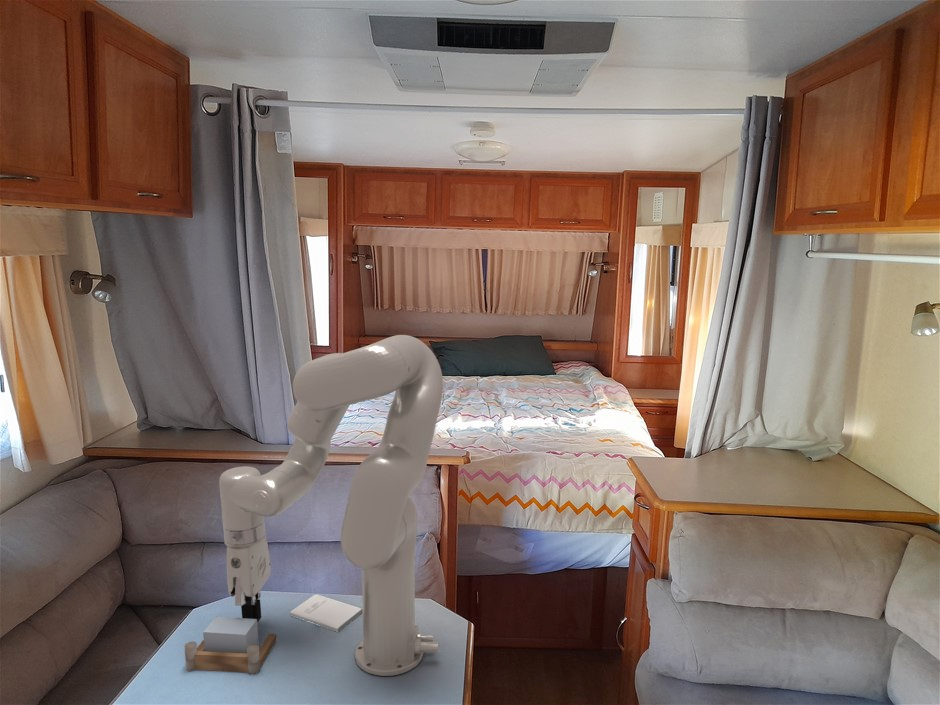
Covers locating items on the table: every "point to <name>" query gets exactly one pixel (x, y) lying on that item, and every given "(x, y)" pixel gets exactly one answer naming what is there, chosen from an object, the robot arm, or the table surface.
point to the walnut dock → (228, 657)
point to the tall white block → (230, 635)
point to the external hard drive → (327, 612)
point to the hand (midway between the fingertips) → (252, 620)
